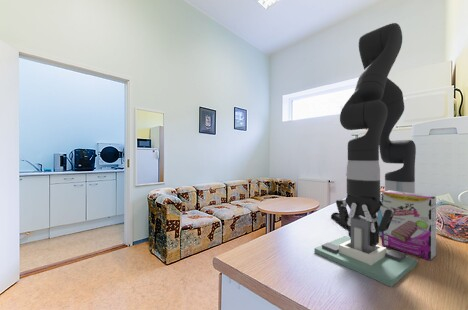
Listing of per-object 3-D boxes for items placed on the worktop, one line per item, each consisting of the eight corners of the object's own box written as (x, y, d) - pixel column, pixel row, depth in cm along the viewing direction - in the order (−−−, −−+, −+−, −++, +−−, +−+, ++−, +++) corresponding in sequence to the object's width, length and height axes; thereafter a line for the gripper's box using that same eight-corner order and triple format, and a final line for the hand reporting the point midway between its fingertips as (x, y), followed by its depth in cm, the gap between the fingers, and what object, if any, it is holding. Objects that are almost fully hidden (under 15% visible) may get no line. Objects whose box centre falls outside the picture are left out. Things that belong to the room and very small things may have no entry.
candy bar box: (381, 246, 61) (380, 191, 61) (387, 242, 64) (387, 189, 64) (431, 261, 52) (431, 197, 52) (437, 256, 55) (436, 195, 55)
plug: (358, 244, 57) (358, 215, 57) (375, 250, 53) (375, 219, 53) (349, 248, 54) (349, 218, 54) (366, 255, 51) (366, 222, 51)
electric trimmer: (345, 231, 74) (345, 222, 74) (330, 218, 90) (330, 211, 90) (356, 232, 74) (356, 223, 74) (339, 218, 89) (339, 211, 89)
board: (344, 239, 66) (344, 229, 66) (417, 264, 51) (417, 251, 51) (314, 252, 57) (314, 241, 57) (391, 286, 42) (391, 271, 42)
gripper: (401, 179, 50) (401, 249, 50) (343, 174, 62) (343, 231, 62) (388, 181, 46) (389, 257, 46) (329, 176, 58) (329, 236, 58)
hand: (362, 242), depth 54 cm, fingers closed on plug, 4 cm apart
